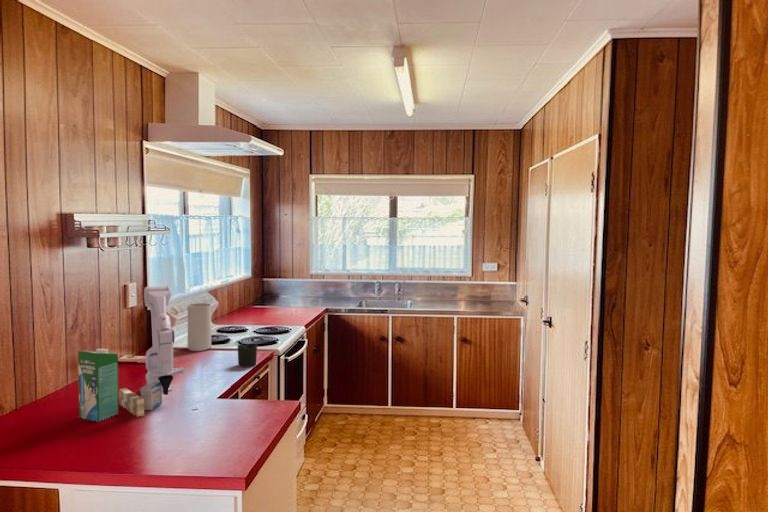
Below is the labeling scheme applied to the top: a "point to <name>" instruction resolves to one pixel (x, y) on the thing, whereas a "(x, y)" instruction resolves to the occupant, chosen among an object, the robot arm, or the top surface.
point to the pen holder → (247, 354)
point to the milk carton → (98, 384)
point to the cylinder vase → (199, 326)
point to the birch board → (131, 402)
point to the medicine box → (151, 395)
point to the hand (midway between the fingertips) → (165, 394)
